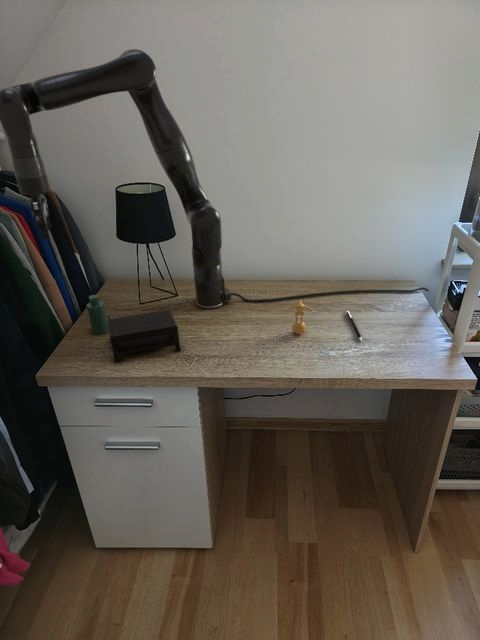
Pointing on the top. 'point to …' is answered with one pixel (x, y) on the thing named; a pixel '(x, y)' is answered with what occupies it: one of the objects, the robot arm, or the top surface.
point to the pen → (354, 326)
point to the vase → (97, 315)
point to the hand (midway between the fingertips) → (46, 234)
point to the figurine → (298, 325)
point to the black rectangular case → (143, 332)
